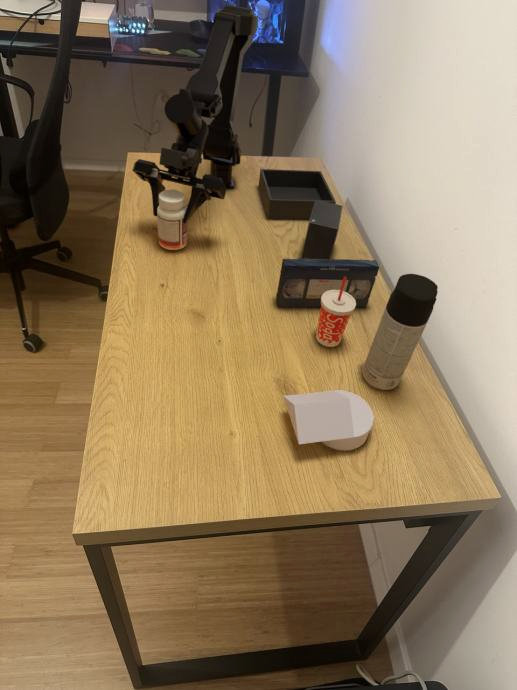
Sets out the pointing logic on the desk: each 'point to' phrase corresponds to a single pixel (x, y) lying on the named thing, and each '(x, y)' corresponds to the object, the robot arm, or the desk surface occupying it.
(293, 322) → the desk surface
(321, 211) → the small box
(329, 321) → the beverage cup
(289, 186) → the bin
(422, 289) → the spray can
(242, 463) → the desk surface
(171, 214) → the pill bottle
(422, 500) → the desk surface
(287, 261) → the vhs cassette tape
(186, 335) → the desk surface
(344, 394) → the wedge on round base
